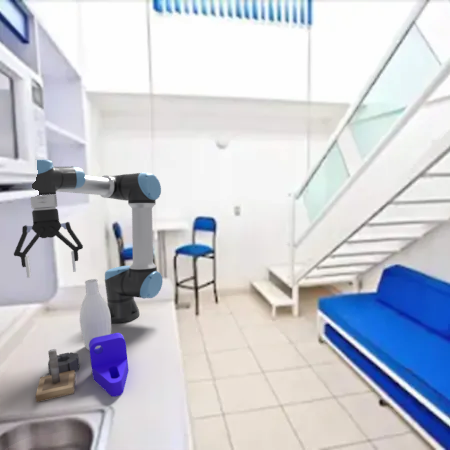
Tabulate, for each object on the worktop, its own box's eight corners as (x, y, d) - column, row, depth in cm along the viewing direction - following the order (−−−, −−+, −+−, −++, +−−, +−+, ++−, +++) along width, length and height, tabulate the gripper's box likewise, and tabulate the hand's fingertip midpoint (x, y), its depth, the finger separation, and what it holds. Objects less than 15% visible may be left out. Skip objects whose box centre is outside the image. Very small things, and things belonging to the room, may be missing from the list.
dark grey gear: (51, 367, 128) (49, 356, 127) (79, 361, 131) (78, 350, 130) (48, 380, 119) (47, 368, 119) (78, 373, 122) (77, 361, 122)
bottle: (93, 338, 149) (86, 276, 146) (118, 339, 147) (112, 276, 144) (76, 351, 138) (68, 285, 135) (104, 352, 136) (96, 285, 133)
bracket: (92, 373, 122) (88, 339, 121) (126, 364, 126) (122, 331, 125) (97, 402, 106) (93, 362, 104) (136, 391, 110) (132, 353, 109)
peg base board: (41, 383, 118) (36, 346, 116) (75, 375, 121) (71, 340, 119) (36, 402, 107) (31, 362, 106) (73, 393, 111) (69, 354, 109)
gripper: (-3, 212, 112) (6, 281, 115) (86, 206, 120) (92, 270, 123) (3, 211, 119) (11, 276, 122) (86, 205, 127) (92, 266, 130)
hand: (52, 273), depth 122 cm, fingers open, 13 cm apart
